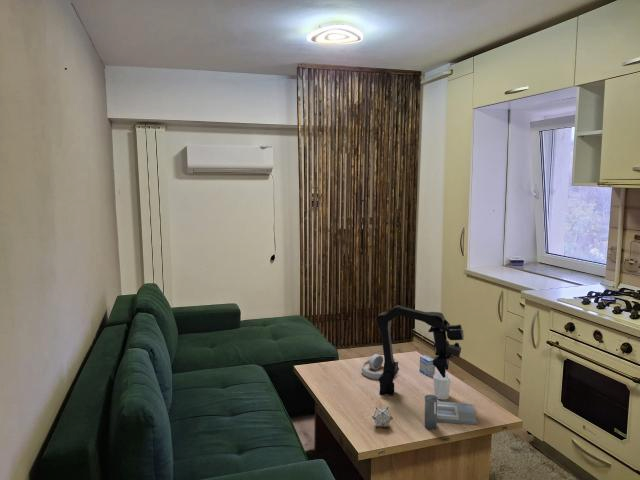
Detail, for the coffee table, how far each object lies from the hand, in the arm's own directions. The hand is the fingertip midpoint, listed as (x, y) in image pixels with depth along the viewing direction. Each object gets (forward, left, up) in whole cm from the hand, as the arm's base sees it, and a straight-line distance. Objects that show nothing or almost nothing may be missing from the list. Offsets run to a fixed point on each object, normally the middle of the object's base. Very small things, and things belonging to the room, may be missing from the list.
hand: (445, 373), depth 216 cm
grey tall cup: (-7, -23, -14) cm, 28 cm away
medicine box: (-7, +32, -14) cm, 36 cm away
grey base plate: (+3, -10, -14) cm, 18 cm away
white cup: (-1, +6, -14) cm, 15 cm away
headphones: (-32, +29, -14) cm, 46 cm away
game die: (-27, -26, -14) cm, 40 cm away
